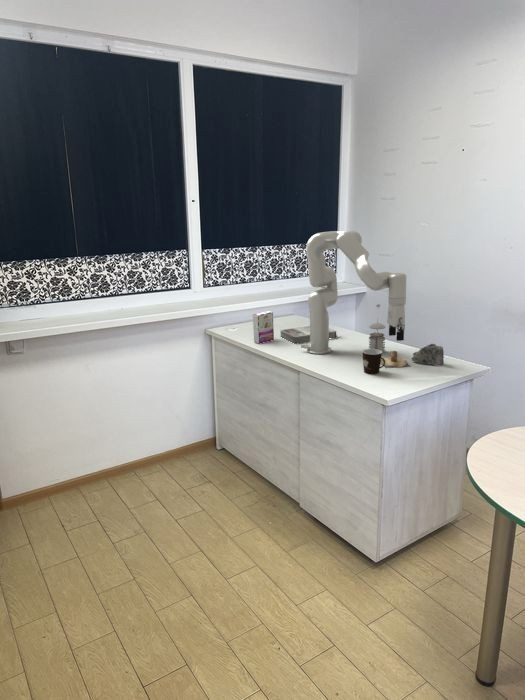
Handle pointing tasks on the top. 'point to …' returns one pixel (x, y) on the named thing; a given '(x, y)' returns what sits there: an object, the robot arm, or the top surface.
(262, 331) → the candy bar box
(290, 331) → the flat grey box
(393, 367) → the mat
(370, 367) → the coffee mug
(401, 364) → the lid
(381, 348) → the french press
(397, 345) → the top surface
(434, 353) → the mineral rock
